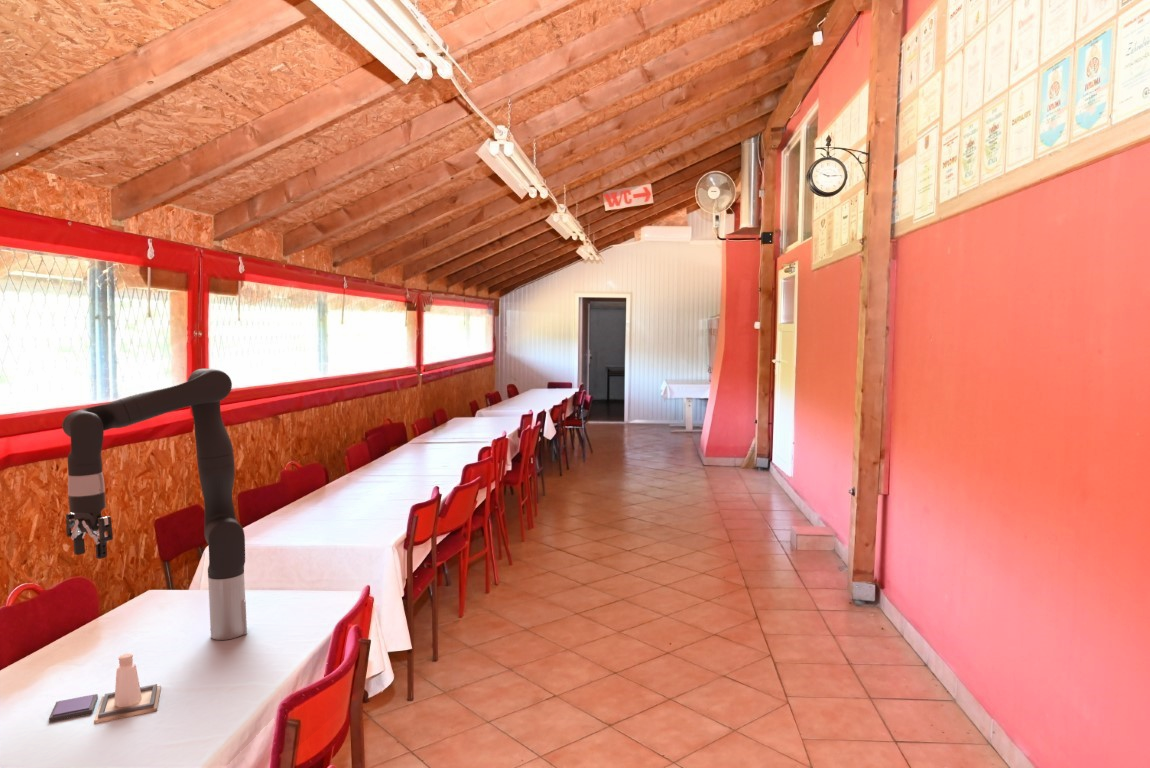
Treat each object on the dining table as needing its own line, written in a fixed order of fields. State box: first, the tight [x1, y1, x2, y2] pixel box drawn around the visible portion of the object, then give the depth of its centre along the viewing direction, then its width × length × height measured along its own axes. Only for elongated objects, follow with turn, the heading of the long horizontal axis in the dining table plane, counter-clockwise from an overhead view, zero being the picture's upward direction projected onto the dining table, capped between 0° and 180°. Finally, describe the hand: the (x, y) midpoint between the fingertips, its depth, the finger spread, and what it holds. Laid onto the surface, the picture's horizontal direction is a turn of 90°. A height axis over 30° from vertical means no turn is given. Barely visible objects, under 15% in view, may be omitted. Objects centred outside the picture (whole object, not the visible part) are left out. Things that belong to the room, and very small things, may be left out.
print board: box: [93, 683, 162, 724], centre depth 169 cm, size 12×12×1 cm
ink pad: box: [48, 693, 99, 723], centre depth 167 cm, size 8×8×1 cm
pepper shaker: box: [114, 653, 142, 708], centre depth 168 cm, size 5×5×11 cm
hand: (90, 556), depth 182 cm, fingers open, 8 cm apart
